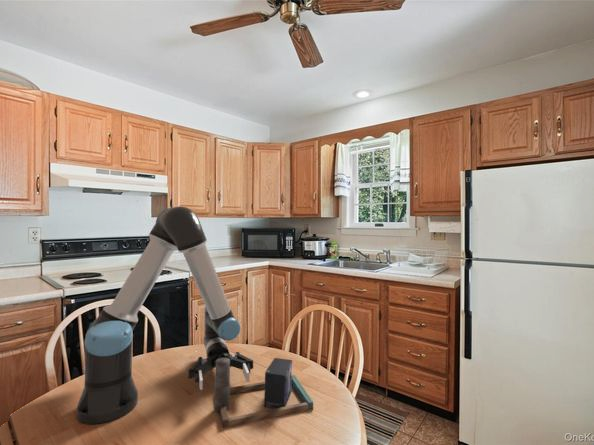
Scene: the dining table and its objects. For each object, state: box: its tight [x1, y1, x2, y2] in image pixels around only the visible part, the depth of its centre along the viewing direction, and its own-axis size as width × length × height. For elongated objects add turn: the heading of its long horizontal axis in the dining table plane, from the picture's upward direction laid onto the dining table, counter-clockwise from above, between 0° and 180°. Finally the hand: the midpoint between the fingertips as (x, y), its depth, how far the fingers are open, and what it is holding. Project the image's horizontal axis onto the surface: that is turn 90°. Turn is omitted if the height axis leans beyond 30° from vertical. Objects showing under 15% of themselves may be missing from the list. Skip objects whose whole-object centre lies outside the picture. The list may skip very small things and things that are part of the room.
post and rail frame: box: [214, 358, 314, 429], centre depth 92 cm, size 27×16×14 cm, turn 110°
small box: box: [263, 357, 293, 409], centre depth 94 cm, size 11×6×10 cm, turn 168°
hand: (225, 381), depth 90 cm, fingers open, 13 cm apart
